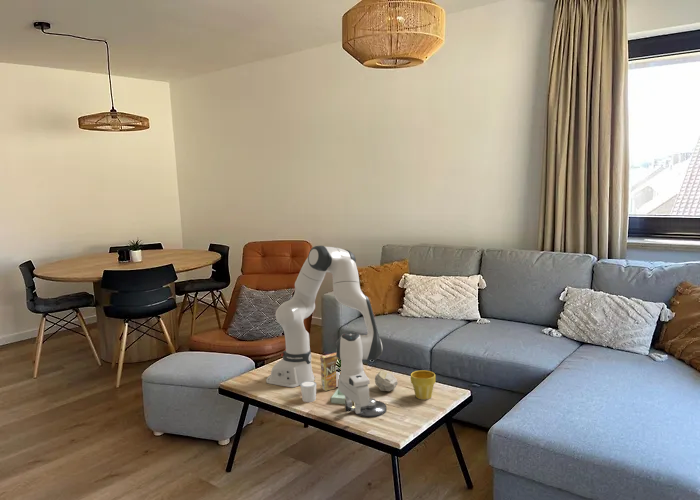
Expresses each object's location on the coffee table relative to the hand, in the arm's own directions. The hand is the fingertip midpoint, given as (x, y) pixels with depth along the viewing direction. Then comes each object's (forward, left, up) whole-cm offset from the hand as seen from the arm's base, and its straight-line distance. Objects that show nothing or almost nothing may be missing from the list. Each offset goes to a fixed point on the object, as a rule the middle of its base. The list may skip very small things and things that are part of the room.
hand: (353, 409), depth 203 cm
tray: (-9, +17, -4) cm, 20 cm away
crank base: (+4, +9, -4) cm, 11 cm away
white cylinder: (-24, +14, -4) cm, 28 cm away
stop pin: (-4, +9, -4) cm, 11 cm away
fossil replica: (+6, +31, -4) cm, 32 cm away
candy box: (-18, +28, -4) cm, 33 cm away
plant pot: (+23, +26, -4) cm, 35 cm away
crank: (+1, +7, -3) cm, 8 cm away
